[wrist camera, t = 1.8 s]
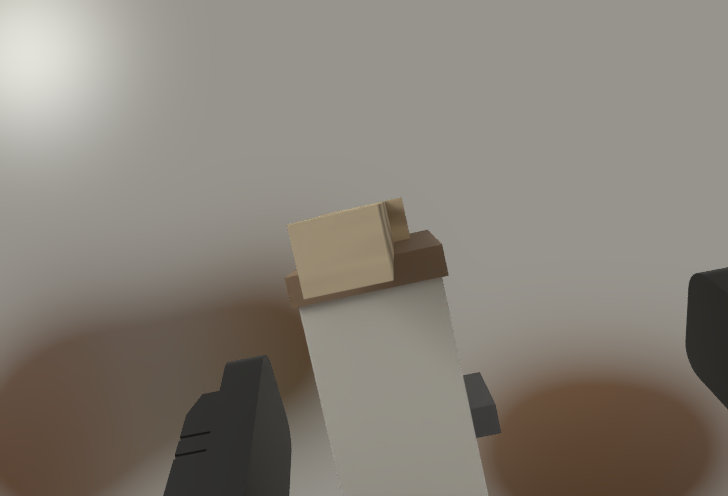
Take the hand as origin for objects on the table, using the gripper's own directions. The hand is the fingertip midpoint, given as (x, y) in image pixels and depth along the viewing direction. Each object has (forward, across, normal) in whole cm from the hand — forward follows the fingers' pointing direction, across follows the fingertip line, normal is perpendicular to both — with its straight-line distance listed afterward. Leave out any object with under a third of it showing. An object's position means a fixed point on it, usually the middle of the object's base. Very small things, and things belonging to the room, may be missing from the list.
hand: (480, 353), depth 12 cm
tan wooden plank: (+18, +2, +6) cm, 20 cm away
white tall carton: (+11, +1, +38) cm, 39 cm away
